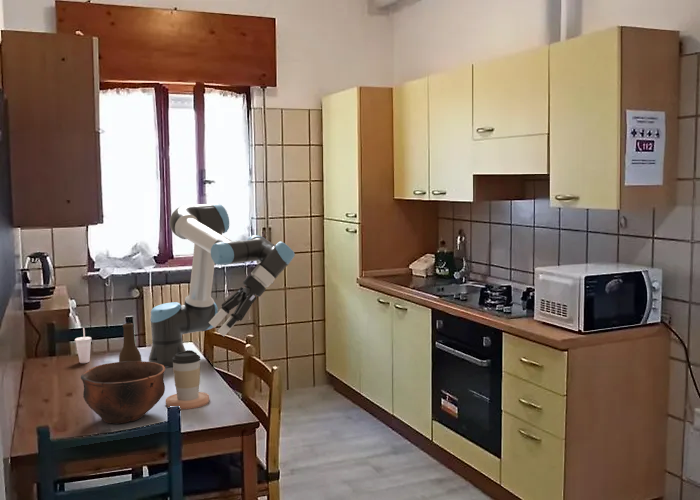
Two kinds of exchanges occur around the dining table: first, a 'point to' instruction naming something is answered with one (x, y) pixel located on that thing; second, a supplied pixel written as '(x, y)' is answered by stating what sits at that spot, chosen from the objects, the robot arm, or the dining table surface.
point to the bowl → (123, 389)
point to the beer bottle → (129, 345)
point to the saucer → (189, 404)
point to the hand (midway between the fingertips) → (215, 329)
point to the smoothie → (83, 348)
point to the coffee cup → (186, 375)
